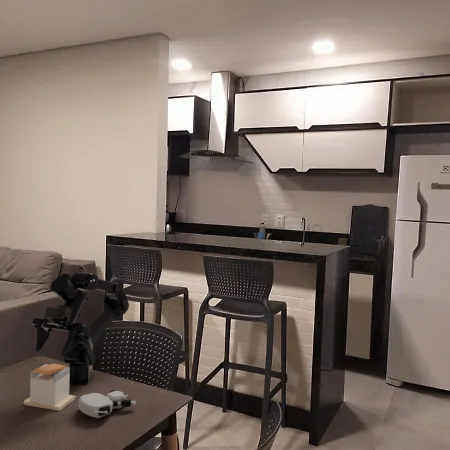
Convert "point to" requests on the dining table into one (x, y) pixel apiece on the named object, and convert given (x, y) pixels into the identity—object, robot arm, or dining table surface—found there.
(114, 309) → the robot arm
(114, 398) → the robot toy
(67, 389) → the box
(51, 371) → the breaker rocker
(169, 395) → the dining table surface
